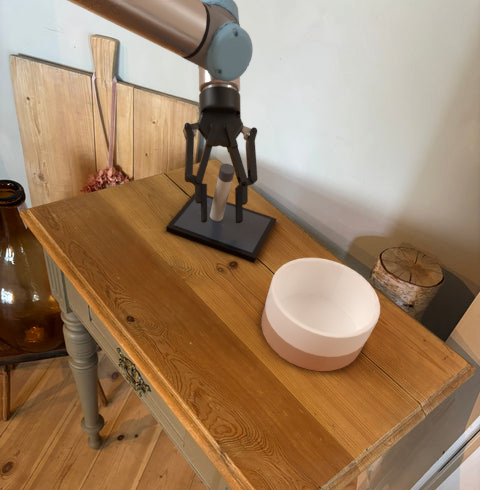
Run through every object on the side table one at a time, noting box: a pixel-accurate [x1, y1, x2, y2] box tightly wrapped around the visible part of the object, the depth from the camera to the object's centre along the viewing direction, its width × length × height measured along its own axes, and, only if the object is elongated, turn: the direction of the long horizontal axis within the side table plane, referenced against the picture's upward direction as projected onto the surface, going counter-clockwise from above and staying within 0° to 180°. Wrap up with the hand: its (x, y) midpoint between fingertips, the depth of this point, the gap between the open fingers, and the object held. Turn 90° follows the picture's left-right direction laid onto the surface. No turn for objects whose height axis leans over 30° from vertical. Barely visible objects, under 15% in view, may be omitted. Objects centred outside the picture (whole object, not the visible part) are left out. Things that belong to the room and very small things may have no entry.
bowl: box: [260, 257, 381, 372], centre depth 74 cm, size 17×17×8 cm
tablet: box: [165, 192, 277, 264], centre depth 91 cm, size 18×14×1 cm
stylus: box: [210, 163, 235, 221], centre depth 86 cm, size 3×3×12 cm
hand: (221, 221), depth 85 cm, fingers open, 6 cm apart
